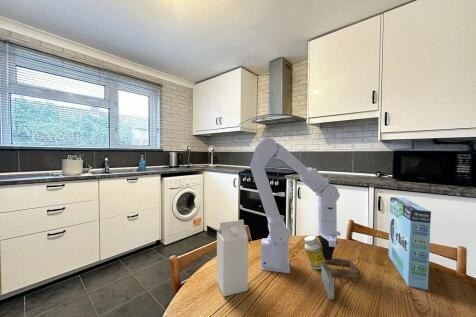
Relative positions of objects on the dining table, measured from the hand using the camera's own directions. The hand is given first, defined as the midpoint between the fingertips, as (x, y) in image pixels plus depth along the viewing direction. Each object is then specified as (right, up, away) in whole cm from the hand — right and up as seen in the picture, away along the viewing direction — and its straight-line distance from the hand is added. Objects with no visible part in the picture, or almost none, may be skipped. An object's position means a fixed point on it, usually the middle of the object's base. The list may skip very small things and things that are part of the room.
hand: (327, 258), depth 68 cm
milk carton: (-32, -3, -10) cm, 34 cm away
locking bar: (-5, -3, -10) cm, 12 cm away
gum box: (+26, -4, -1) cm, 26 cm away
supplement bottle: (-3, -3, 0) cm, 4 cm away
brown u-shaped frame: (+4, -3, -1) cm, 5 cm away
